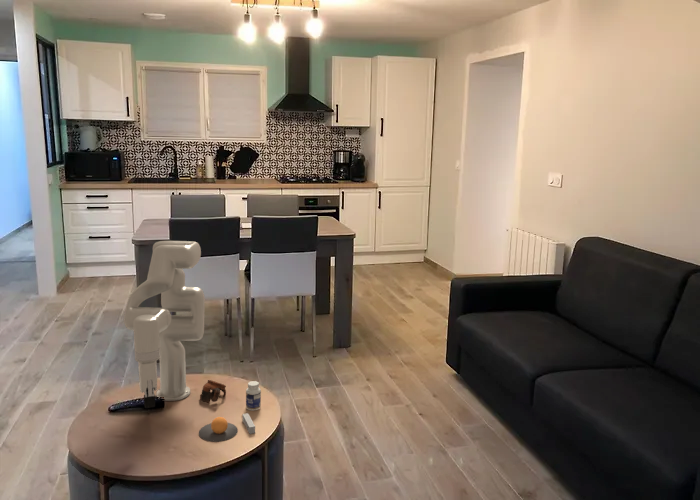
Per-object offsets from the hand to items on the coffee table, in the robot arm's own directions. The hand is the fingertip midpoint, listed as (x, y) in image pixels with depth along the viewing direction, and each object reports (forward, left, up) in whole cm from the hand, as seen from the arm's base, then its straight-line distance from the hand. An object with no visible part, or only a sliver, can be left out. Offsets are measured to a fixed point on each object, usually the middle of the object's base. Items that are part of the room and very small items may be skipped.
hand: (149, 406), depth 186 cm
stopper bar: (0, +32, -13) cm, 35 cm away
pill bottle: (-14, +37, -13) cm, 42 cm away
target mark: (0, +22, -13) cm, 25 cm away
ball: (+1, +22, -10) cm, 24 cm away
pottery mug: (-25, +24, -13) cm, 37 cm away
